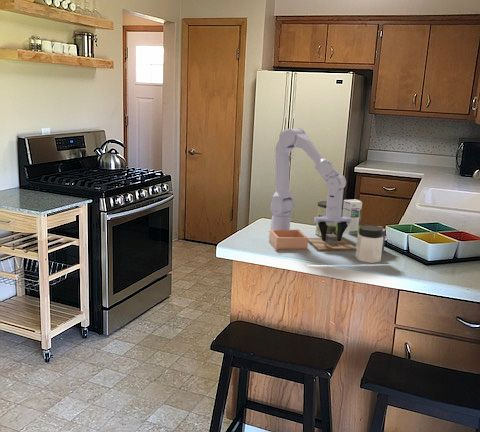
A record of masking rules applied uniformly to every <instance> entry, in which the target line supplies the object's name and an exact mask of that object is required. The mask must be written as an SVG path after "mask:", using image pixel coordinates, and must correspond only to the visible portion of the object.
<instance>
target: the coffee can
mask: <svg viewBox="0 0 480 432" xmlns="http://www.w3.org/2000/svg"><path fill="white" fill-rule="evenodd" d="M343 204H344V203H342V209H341V217H343ZM326 207H327V200H325V201H324V200H321V201H318V202H317V210H316V211H317V212H316V213H317V214H316V217H323V216H326ZM315 224H316V226H315V236H317V237H318V238H322V236H321V231H320V228H319V225H318V223H315ZM326 225H327V226H328V227H327V231H326V234H335V235H336V236H337V223H326Z"/></svg>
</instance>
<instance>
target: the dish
mask: <svg viewBox="0 0 480 432" xmlns="http://www.w3.org/2000/svg"><path fill="white" fill-rule="evenodd" d="M268 232H269V234H268V243H269V244H270V245H271V246H272V248H273V249H274V251H275V252H279V251H280V250H283V251H284V250H308V245H309V243H308V238H309V237H308V236H307V235H306V234H304V232H302V231H301V230H300V229H290V230H271V229H269V230H268Z"/></svg>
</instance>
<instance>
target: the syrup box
mask: <svg viewBox="0 0 480 432" xmlns="http://www.w3.org/2000/svg"><path fill="white" fill-rule="evenodd" d="M342 204H343V207H342V217H350V218H352V223H347V224H348V226H347V228H346V229H345V231H344V233H345V234H347V235H354V234H355V235H356V234H357V235H358V233H359V229H360V226H361V221H362V211H363V210H362V209H363V208H362V207H363V202H362V200H360V199H344V200H343V203H342Z"/></svg>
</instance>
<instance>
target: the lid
mask: <svg viewBox="0 0 480 432" xmlns="http://www.w3.org/2000/svg"><path fill="white" fill-rule="evenodd" d="M308 242H309V243H310V244H311V245H312V246H313V247H314V248H316V249H317V250H318V251H337V252H356V248H357V247H355V246H354V245H352V244H351V243H350V242H349V241H348V240H346V239H344V238H343V237H341V240H340V241H337V236H336V235H335V234H326V240H325V241H322V237H308ZM309 243H308V244H309ZM310 244H309V245H310ZM311 245H310V246H311ZM312 246H311V247H312ZM313 247H312V248H313ZM314 248H313V249H314Z"/></svg>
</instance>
